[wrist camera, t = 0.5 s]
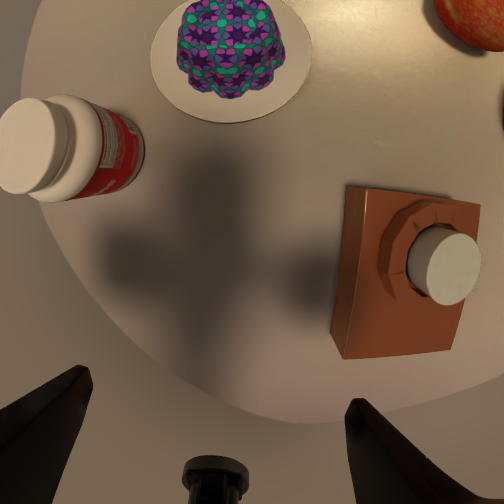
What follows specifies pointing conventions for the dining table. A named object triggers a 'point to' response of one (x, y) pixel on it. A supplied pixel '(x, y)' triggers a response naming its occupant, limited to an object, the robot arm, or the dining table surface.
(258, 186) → the dining table surface
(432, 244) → the white cylinder
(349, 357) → the button housing
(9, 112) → the pill bottle
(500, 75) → the dining table surface
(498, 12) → the apple
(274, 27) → the pudding
